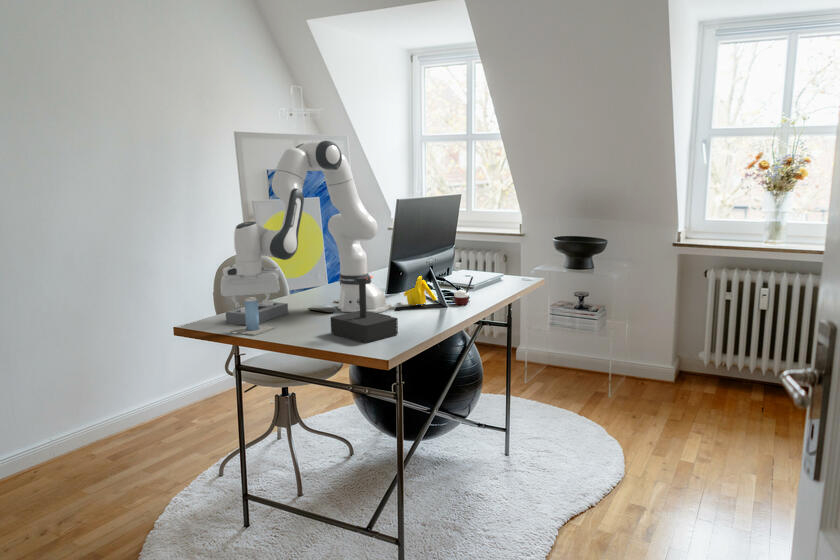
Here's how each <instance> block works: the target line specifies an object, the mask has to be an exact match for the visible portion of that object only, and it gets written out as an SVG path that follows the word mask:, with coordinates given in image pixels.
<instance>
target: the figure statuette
mask: <svg viewBox="0 0 840 560" xmlns="http://www.w3.org/2000/svg"><path fill="white" fill-rule="evenodd" d="M422 279H423V277H422V275H421V276H419V277H418V278H417V281H416V285H415V288H412V289H410V290H408V291H406V290H405V291H404V292H403V295H404V297H406V300H407V304H408V305H409V306H415V305H416V304H424V303H426V304H427V297H426V293H427V294H428V296H429V298H430V299H432V301H433V302H434V301H436V300H437V297H436V295H435V294H434V293H433V291H432V290H431V288H430V287H429V286H428V284H427V282H426V280H424V279H423V280H422ZM422 284H423V285H422ZM425 292H426V293H425Z"/></svg>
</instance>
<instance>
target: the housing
mask: <svg viewBox="0 0 840 560" xmlns="http://www.w3.org/2000/svg"><path fill="white" fill-rule="evenodd" d="M288 304H289V303H286V302H274V301H273V306H269V305H267V306H263V302H262V301H259V302H258V314H259V324H261V323H263V322H266V321H269V320H272V319H274V318H278V317H280V316H283V315H287V314H289V308H288V307H289V305H288ZM243 307H244V306H242V307H240V308H235V309H232V310H228V311H225V322H226V323H227V322H229V323H230V324H235V323H238V325H244V324H246V319H245V313H243V312H241V308H243Z"/></svg>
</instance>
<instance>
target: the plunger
mask: <svg viewBox="0 0 840 560" xmlns="http://www.w3.org/2000/svg"><path fill="white" fill-rule="evenodd" d="M273 302H274V300H269V299H268V301H267V305H269V306H273Z"/></svg>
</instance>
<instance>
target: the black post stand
mask: <svg viewBox="0 0 840 560" xmlns="http://www.w3.org/2000/svg"><path fill="white" fill-rule="evenodd" d="M357 283H358V284H359V299H360V311H356V312H346V313H342V314H339V315H334V316H331V317H330V332H331V334H333V335H335V336H338V337H339V336H340V337H343V338H347V339H350V340H354V341H358V342H361V343H364V344H365V343H366V344H367V343H371V342H374V341H377V340H378V341H379V340H382V339H383V340H384V339H387V338H389V337H394V336H397V335H398V334H399V330H398V329H399V323H398V318H397V317H394V316H391V315H387V314H383V313H381V312H378V313H375V312H368V311H366V283H367V278H366V277H360V278H357Z"/></svg>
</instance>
